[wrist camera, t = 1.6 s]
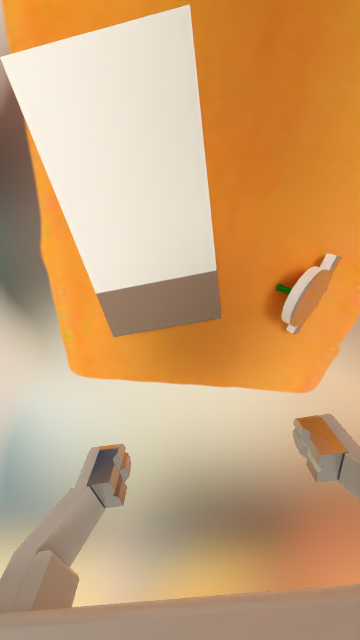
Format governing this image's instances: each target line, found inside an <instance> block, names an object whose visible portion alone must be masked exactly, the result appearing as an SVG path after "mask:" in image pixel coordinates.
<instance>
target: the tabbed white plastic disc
mask: <svg viewBox="0 0 360 640" xmlns="http://www.w3.org/2000/svg"><path fill="white" fill-rule="evenodd" d="M341 258H342V257H340V256H336V255H331V254H326V256H325V258H324V260H323V262H322V264H321V265H320V267H316V266H313V267H311V268H310V269H308V270H307V271H306V272H305V273H304V274H303V275H302V276H301V277H300V279H299V280H298V281H297V283H296V284H295V285H294V287H293V289H291V288H289V287H286V286H283V285H281V284H279V285H278V286H277V289H276V290H278V291H280V292H283V293H285V294H288V295H289V296H288V298H287V300H286V302H285V304H284V307H283V310H282V321H284V322H285V323H287V324H289V325H288V327H287V329H286V330H288V331H290V332H291V333H293V334H297V333H299V332H300V330H301V328H302V326H303V325H304V323H305V321H306V320H307V318H308V317H309V316H310V314H311V313H312V312H313V310H314V309H315V308H316V307H317V305H318V303H319V301H320V299H321V298H322V296H323V294H324V293H325V291H326V290H327V286H328V284H329V282H330V279H331V277H332V274H333V272H334V270H335V269H336V267H337V265H338V263H339V262H340V260H341Z"/></svg>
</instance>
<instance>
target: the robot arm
mask: <svg viewBox="0 0 360 640" xmlns="http://www.w3.org/2000/svg"><path fill="white" fill-rule="evenodd" d="M294 426H295V427H296V428H295V430H294V431H293V437H294V441H295V444H296V446H297V448H298V450H299V452H300V454H301V455H303V456H304V457H305V458H307V466H308V468H309V470H310V472H311V473H312V475H313V477H314V479H315V481H316V482H327V481H337V480H339V481H338V482H339V483H340V484H341V485H343V486H344V487H345V488H346V489H347V490H348V491H350V492H351V493H352V494H353V495H354V496H356V497H357V498H358V499H359V500H360V447H359V446H358V444H357V443H356V442H355V441H354V440H353V439H352V437H351V436H350V435H349V434H348V433H347V432H346V430H345V429H344V428H343V427H342V426H341V425H340V423H339V422H338V421H337V420H336V419H335V418H334V416H332V415H331V414H325V415H319V416H317V415H316V416H310V417H303V418H297V419H295V420H294ZM130 468H131V461H130V456H129V454H128V453H126V452H125V446H124V445H123V444H117V445H110V446H101V447H94V448H92V449H91V450H90V451H89V453H88V455H87V458H86V461H85V463H84V465H83V468H82V470H81V473H80V475H79V477H78V480H77V482H76V485H75V487H74V488H71V489H70V490H69V491H68V492H67V494H66V495H65V496H64V497H63V498H62V499H61V500H60V501H59V503H58V504H57V505H56V506H55V507H54V508H53V509H52V510H51V512H50V513H49V514H48V515H47V516H46V517H45V518H44V519H43V521H42V522H41V523H40V524H39V525H38V526H37V527H36V528H35V530H34V531H33V532H32V533H31V534H30V535H29V536H28V537H27V539H26V540H25V541H24V542H23V543H22V544H21V546H20V547H19V548H18V549H17V550H16V551H15V552H14V554H13V556H12V558H11V560H10V562H9V564H8V566H7V567H6V569H5V571H4V573H3V575H2V577H1V579H0V640H360V584H351V585H339V586H328V587H315V588H303V589H291V590H280V591H279V590H278V591H266V592H254V593H242V594H230V595H217V596H205V597H193V598H182V599H169V600H158V601H145V602H132V603H120V604H109V605H97V606H84V607H72V604H73V600H74V596H75V592H76V589H77V585H78V582H79V577H78V575H77V574H76V573H75V572H74V571H73V570H72V569H71V568H70V566H71V564H72V563H73V561H74V559H75V558H76V556H77V555H78V553H79V551H80V550H81V548H82V546H83V545H84V543H85V542H86V540H87V538H88V537H89V535H90V533H91V532H92V530H93V528H94V527H95V525H96V524H97V522H98V520H99V519H100V517H101V516H102V514H103V512H104V511H105V508H110V507H116V506H123V504H124V500H125V495H126V489H127V486H126V484H125V481H126V480H127V478H128V477H129V475H130ZM71 607H72V608H71Z"/></svg>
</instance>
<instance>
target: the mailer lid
mask: <svg viewBox="0 0 360 640" xmlns="http://www.w3.org/2000/svg"><path fill="white" fill-rule="evenodd" d="M0 58H1V61H2V63H3V66H4V68H5V71H6V73H7V75H8V78H9V81H10V83H11V85H12V88H13V90H14V93H15V95H16V98H17V100H18V102H19V105H20V107H21V110H22V112H23V115H24V117H25V120H26V122H27V125H28V127H29V130H30V132H31V135H32V137H33V140H34V142H35V144H36V147H37V149H38V152H39V154H40V157H41V159H42V162H43V164H44V167H45V169H46V172H47V174H48V176H49V179H50V181H51V184H52V186H53V189H54V191H55V194H56V196H57V199H58V201H59V204H60V206H61V208H62V211H63V213H64V216H65V218H66V221H67V223H68V226H69V228H70V231H71V233H72V236H73V238H74V240H75V243H76V245H77V248H78V250H79V253H80V255H81V258H82V260H83V263H84V265H85V268H86V270H87V272H88V275H89V277H90V280H91V282H92V285H93V287H94V290H95V292H96V295H97V297H98V300H99V302H100V304H101V307H102V309H103V312H104V314H105V317H106V319H107V322H108V324H109V327H110V329H111V332H112V334H113V336H114V337H118V336H123V335H129V334H135V333H140V332H146V331H151V330H157V329H163V328H168V327H174V326H179V325H185V324H191V323H196V322H202V321H208V320H213V319H219V318H221V308H220V298H219V288H218V279H217V269H216V259H215V249H214V239H213V229H212V219H211V209H210V199H209V189H208V180H207V170H206V160H205V150H204V140H203V130H202V120H201V110H200V100H199V90H198V81H197V71H196V61H195V51H194V41H193V31H192V21H191V11H190V4H189V5H186V6H182V7H178V8H175V9H171V10H168V11H164V12H160V13H157V14H153V15H150V16H146V17H143V18H139V19H135V20H132V21H128V22H125V23H121V24H117V25H114V26H110V27H107V28H103V29H99V30H96V31H92V32H89V33H85V34H81V35H78V36H74V37H71V38H67V39H64V40H60V41H56V42H53V43H49V44H46V45H42V46H38V47H35V48H31V49H28V50H24V51H20V52H17V53H13V54H10V55H6V56H3V57H0Z"/></svg>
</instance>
